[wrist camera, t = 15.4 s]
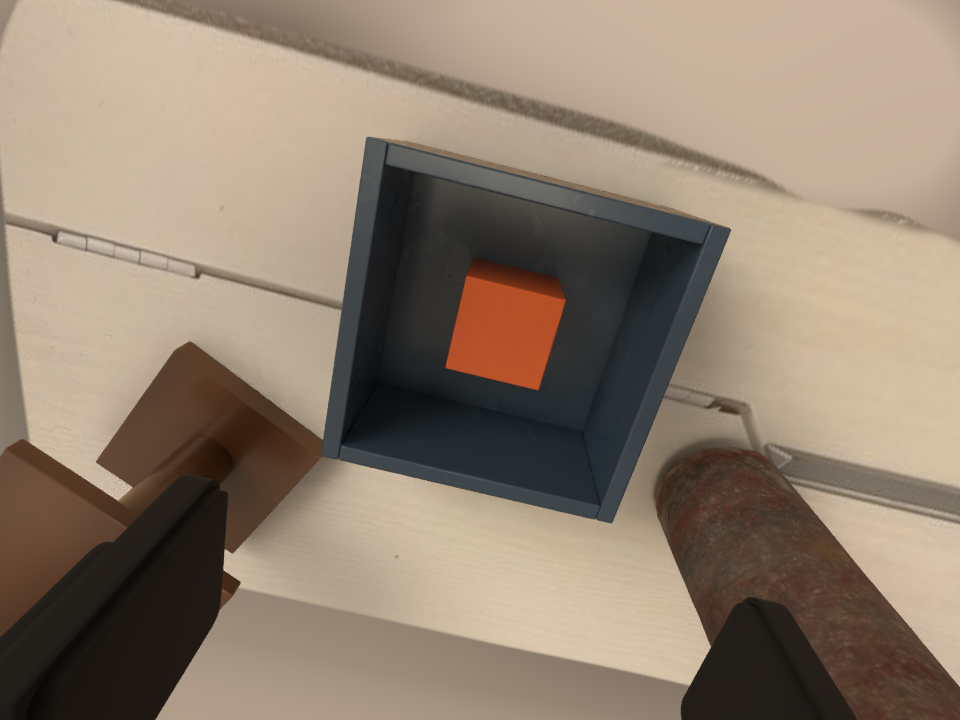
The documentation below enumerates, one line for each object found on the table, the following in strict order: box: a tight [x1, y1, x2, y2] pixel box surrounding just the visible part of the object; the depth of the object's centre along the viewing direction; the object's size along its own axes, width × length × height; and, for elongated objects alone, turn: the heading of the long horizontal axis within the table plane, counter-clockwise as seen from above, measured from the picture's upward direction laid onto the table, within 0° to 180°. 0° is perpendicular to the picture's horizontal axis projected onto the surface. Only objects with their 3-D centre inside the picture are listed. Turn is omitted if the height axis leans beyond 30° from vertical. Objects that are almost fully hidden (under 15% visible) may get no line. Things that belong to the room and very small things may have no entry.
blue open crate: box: [321, 137, 731, 523], centre depth 25 cm, size 14×14×8 cm
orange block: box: [446, 257, 566, 390], centre depth 26 cm, size 4×4×4 cm
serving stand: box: [0, 342, 323, 637], centre depth 28 cm, size 10×10×12 cm
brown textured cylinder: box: [656, 447, 960, 720], centre depth 23 cm, size 8×7×20 cm
